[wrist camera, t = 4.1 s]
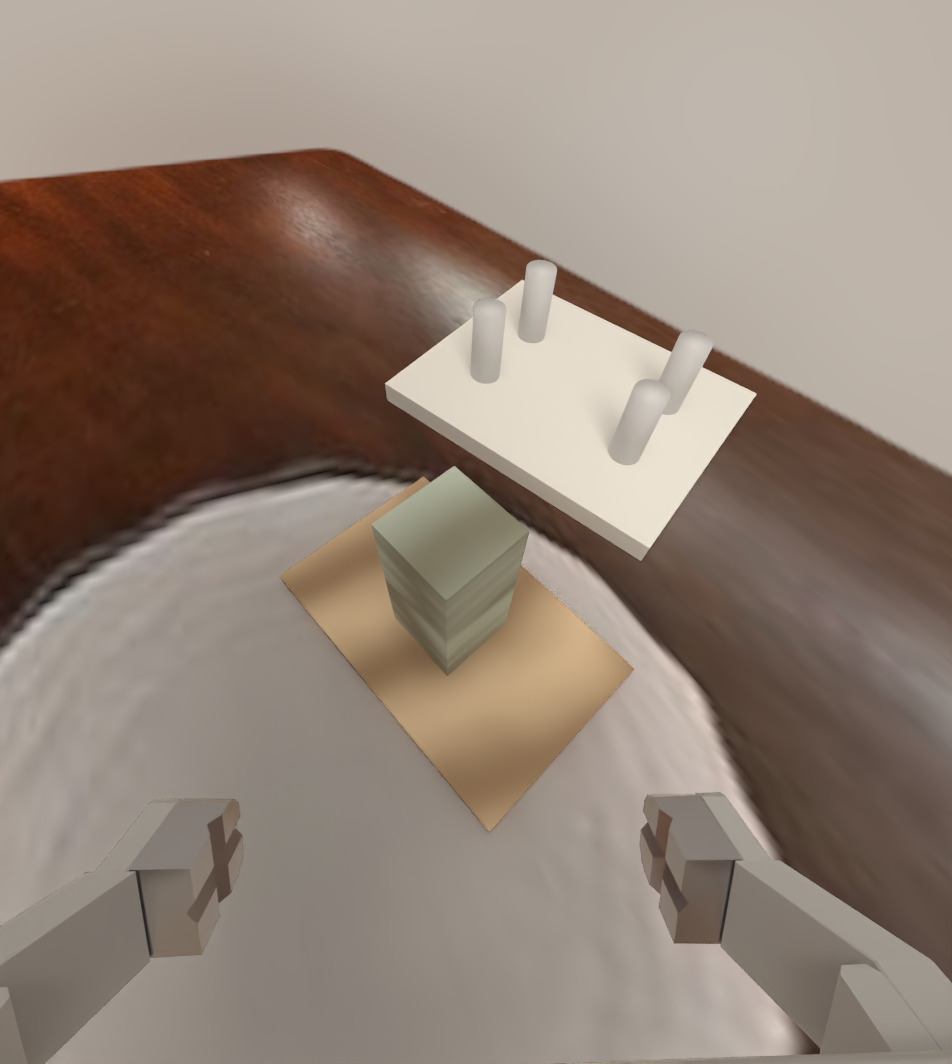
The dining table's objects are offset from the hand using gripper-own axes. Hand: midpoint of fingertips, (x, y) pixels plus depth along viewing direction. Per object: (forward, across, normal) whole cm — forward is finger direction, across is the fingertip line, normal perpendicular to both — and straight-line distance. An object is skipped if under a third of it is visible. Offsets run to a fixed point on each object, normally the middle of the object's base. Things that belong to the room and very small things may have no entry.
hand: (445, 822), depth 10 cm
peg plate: (+28, -8, -9) cm, 30 cm away
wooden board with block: (+16, 0, +3) cm, 17 cm away
